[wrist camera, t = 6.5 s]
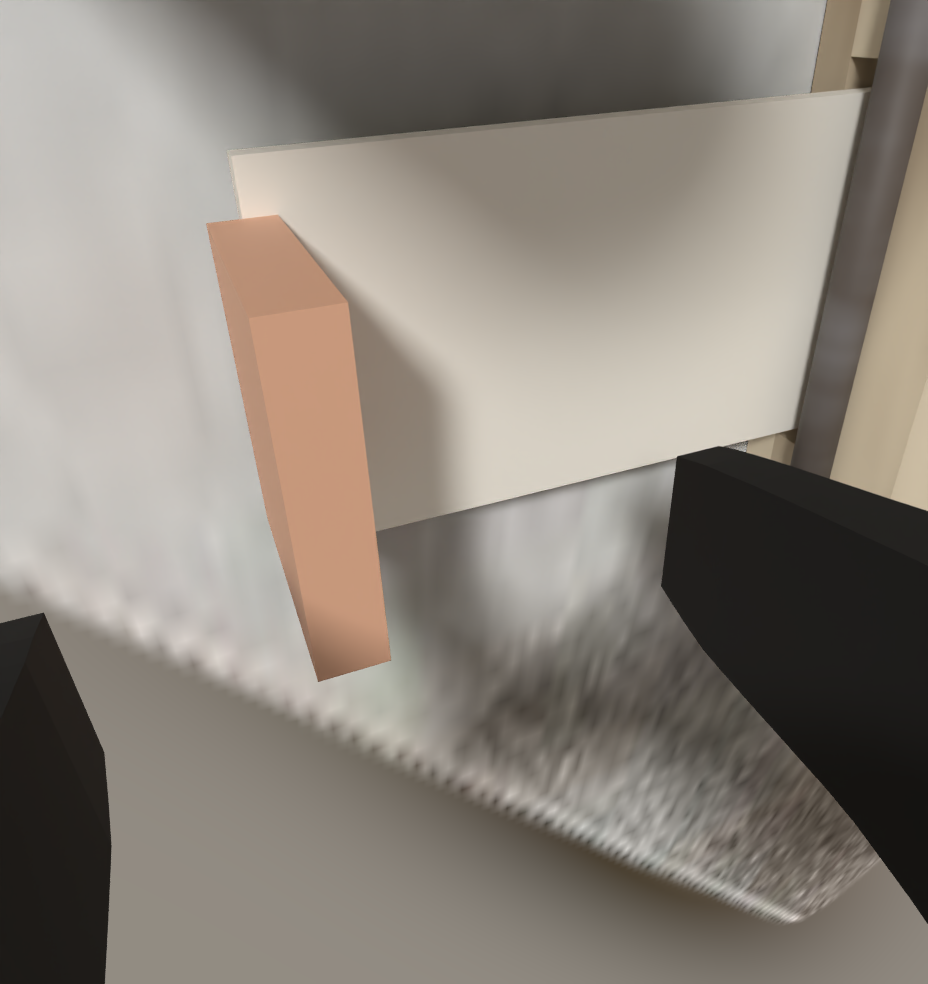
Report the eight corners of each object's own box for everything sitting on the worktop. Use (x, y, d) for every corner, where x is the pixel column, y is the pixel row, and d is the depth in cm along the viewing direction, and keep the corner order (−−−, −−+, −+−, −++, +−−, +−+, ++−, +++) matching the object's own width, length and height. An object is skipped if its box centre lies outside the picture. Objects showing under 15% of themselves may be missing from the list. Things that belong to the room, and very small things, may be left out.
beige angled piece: (890, 85, 17) (1158, 113, 13) (816, 410, 22) (998, 515, 17) (189, 154, 13) (232, 231, 9) (270, 541, 17) (326, 725, 13)
